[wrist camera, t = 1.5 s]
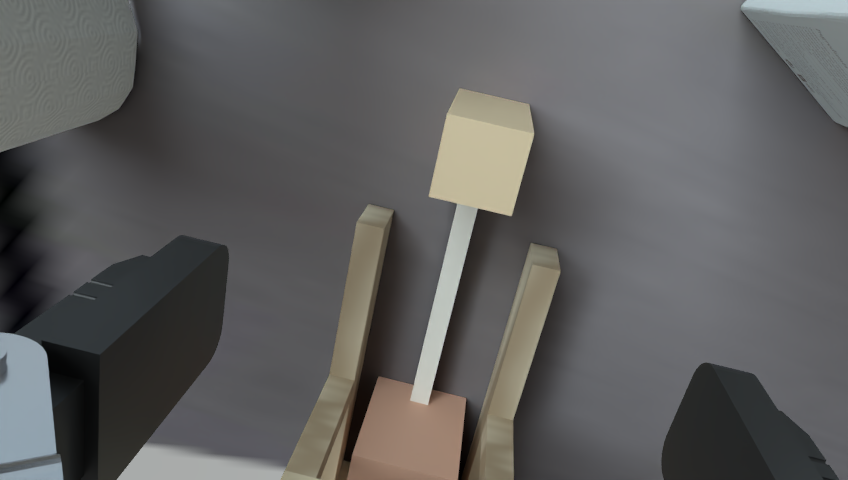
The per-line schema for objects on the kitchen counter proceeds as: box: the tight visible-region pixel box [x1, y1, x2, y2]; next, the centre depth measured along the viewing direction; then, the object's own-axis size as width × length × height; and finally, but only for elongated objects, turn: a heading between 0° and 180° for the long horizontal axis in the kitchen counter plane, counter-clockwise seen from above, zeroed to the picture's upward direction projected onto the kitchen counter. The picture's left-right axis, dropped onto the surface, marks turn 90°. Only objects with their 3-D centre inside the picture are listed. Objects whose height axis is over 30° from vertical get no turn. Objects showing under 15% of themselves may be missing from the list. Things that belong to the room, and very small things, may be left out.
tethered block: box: [347, 88, 534, 480], centre depth 28 cm, size 5×20×6 cm, turn 168°
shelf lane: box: [281, 204, 561, 480], centre depth 28 cm, size 9×16×10 cm, turn 168°
